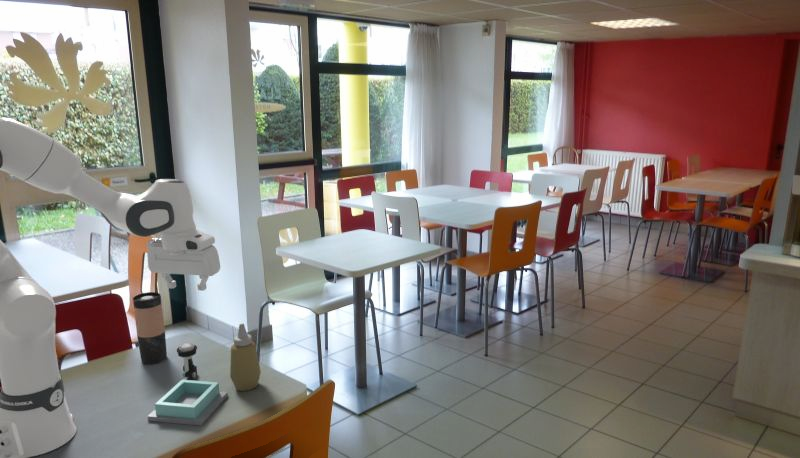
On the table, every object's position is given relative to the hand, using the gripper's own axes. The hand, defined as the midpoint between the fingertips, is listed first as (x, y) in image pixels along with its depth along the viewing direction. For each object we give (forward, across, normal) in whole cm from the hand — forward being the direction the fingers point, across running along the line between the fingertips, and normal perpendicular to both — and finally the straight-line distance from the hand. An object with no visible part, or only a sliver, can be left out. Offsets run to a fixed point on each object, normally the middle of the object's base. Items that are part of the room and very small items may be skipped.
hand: (187, 288), depth 155 cm
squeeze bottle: (+27, +15, -1) cm, 31 cm away
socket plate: (+26, +7, -14) cm, 31 cm away
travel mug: (+27, -21, +7) cm, 35 cm away
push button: (+27, -3, -2) cm, 27 cm away
